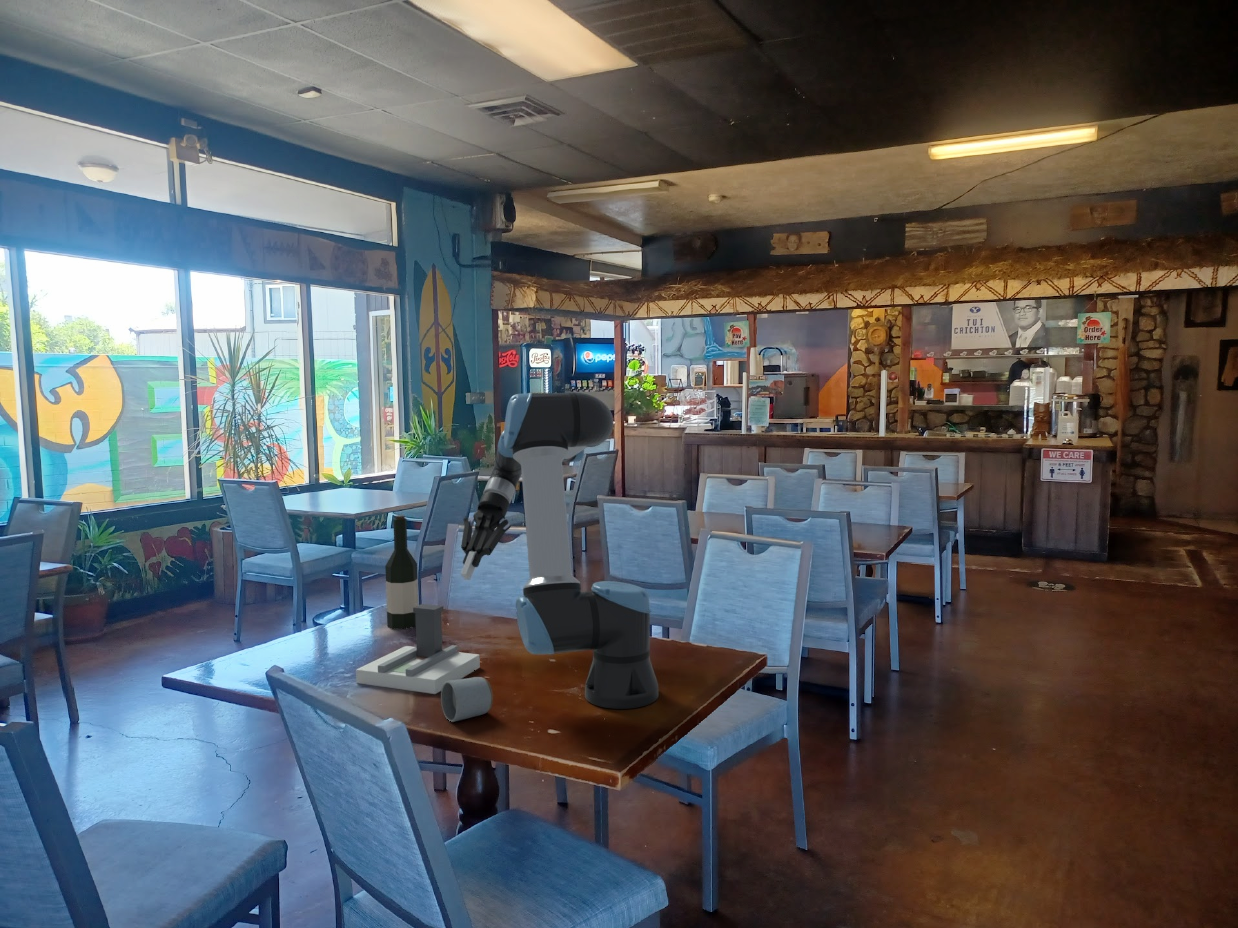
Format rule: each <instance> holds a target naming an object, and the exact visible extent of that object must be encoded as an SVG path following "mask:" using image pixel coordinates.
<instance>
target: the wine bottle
mask: <svg viewBox="0 0 1238 928" xmlns="http://www.w3.org/2000/svg"><path fill="white" fill-rule="evenodd" d="M407 519H408V518H406V516H405V514H402V515H401V514H399V515H394V518H393V520H392V521H393V544H394V545H393V546H394V547H393V549H394V550H393V551H392V553H391V555H390V557H389V559H388V560H387V562H386V564H385V591H386V592H385V593H386V596H385V597H386V622H387V623H386V624H387V625H386V626H388V628H389V627H390V629H391V628H392V630H407V629H406V628H408V629H411V628H410V627H413V628H416V613H413V608H414V607H416V606H418V605H419V579H418V578H419V577H418V563H417V561H416V559H415V558H414V557H413V555H412V553H411V552H410V551H409V549H408V527H407V526H408V524H407V521H408V520H407Z"/></svg>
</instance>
